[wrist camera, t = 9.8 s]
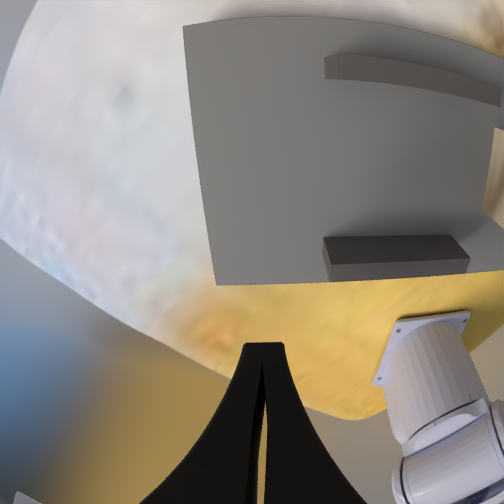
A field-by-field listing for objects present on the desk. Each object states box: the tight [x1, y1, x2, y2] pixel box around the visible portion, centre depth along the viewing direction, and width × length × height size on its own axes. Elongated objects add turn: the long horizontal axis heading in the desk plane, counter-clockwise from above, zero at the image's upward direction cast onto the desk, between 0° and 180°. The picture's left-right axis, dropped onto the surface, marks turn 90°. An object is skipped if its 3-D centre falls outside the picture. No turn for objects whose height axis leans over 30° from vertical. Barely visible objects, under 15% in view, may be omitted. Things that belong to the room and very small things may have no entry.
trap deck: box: [183, 16, 504, 285], centre depth 13 cm, size 14×30×5 cm, turn 94°
